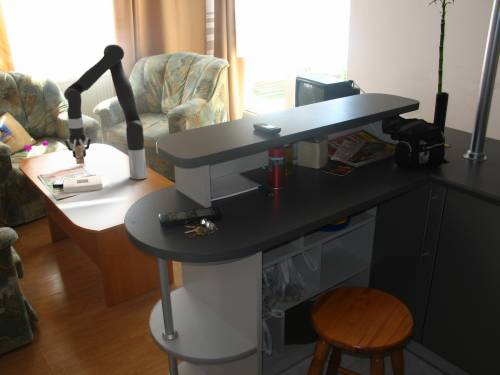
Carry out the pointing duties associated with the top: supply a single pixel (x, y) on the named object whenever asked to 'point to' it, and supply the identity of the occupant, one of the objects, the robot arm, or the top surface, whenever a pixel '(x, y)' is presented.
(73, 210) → the top surface
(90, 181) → the socket board
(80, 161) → the oak peg
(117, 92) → the robot arm
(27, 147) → the toy block
